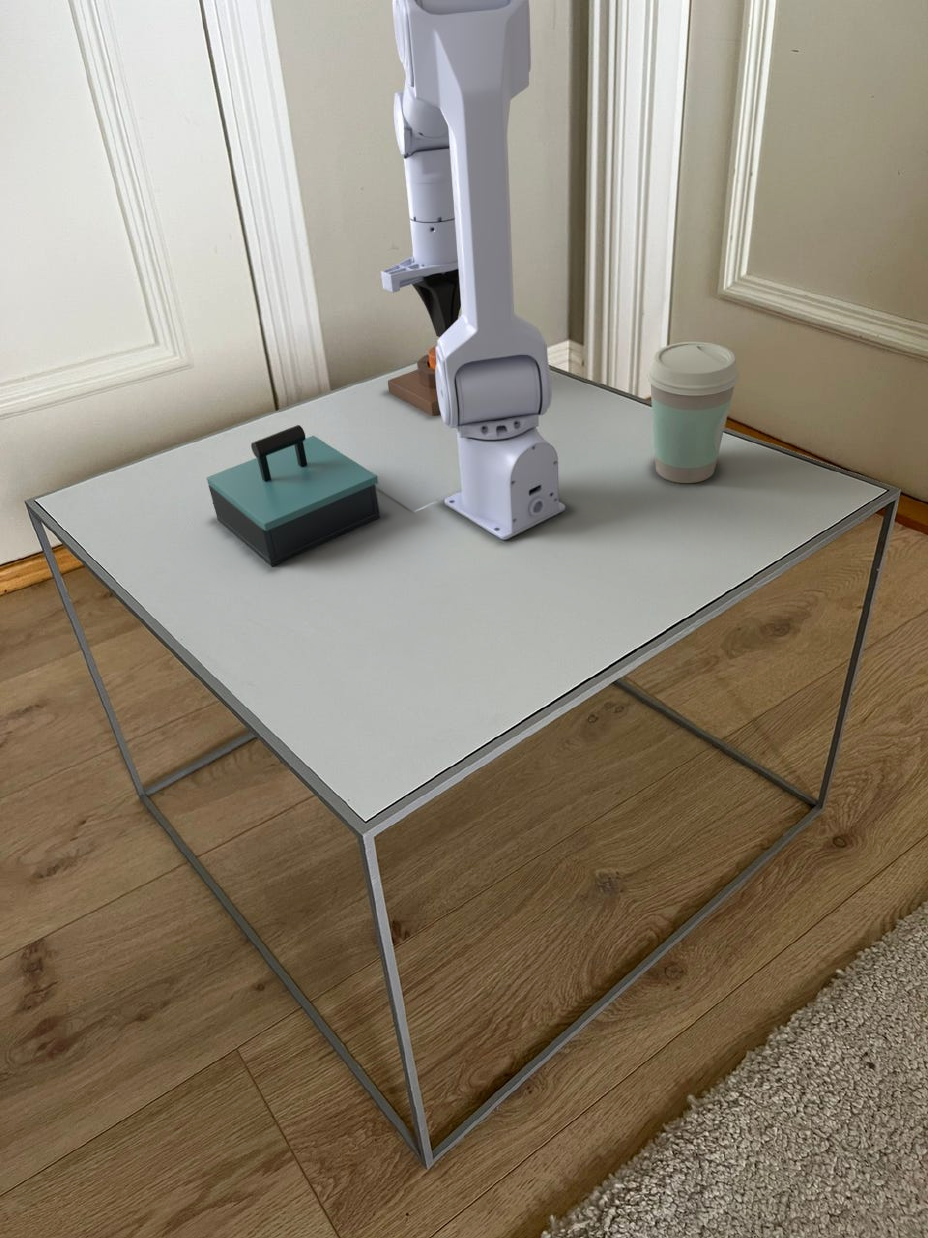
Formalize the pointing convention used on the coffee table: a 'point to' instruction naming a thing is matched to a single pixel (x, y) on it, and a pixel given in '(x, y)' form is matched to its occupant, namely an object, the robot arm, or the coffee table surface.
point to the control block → (417, 387)
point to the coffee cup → (690, 407)
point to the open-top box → (299, 525)
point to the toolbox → (290, 478)
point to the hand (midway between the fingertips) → (445, 336)
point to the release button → (432, 357)
